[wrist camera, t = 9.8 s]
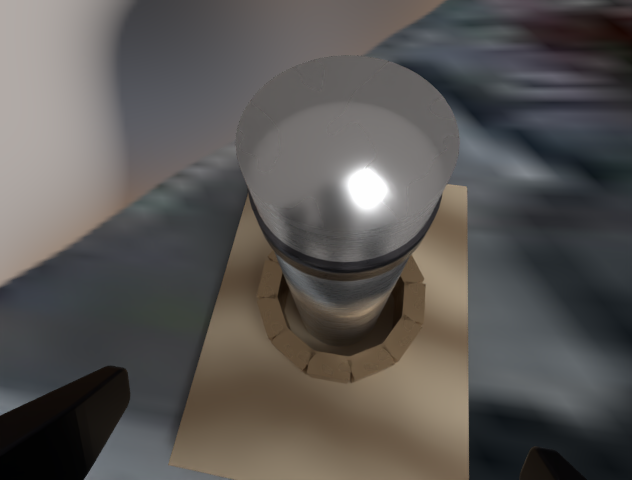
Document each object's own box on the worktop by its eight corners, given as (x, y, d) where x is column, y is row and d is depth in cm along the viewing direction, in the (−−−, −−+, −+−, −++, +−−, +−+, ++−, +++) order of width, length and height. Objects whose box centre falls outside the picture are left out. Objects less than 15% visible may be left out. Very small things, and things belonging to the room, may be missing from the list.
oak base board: (457, 520, 17) (469, 530, 15) (180, 460, 18) (168, 464, 17) (459, 198, 24) (466, 186, 23) (261, 174, 25) (257, 161, 24)
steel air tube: (391, 336, 19) (507, 201, 6) (308, 357, 19) (249, 263, 6) (366, 259, 21) (415, 35, 8) (290, 277, 20) (218, 76, 8)
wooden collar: (407, 395, 18) (420, 394, 15) (253, 366, 18) (240, 360, 16) (415, 250, 21) (428, 228, 18) (284, 232, 22) (278, 208, 19)
